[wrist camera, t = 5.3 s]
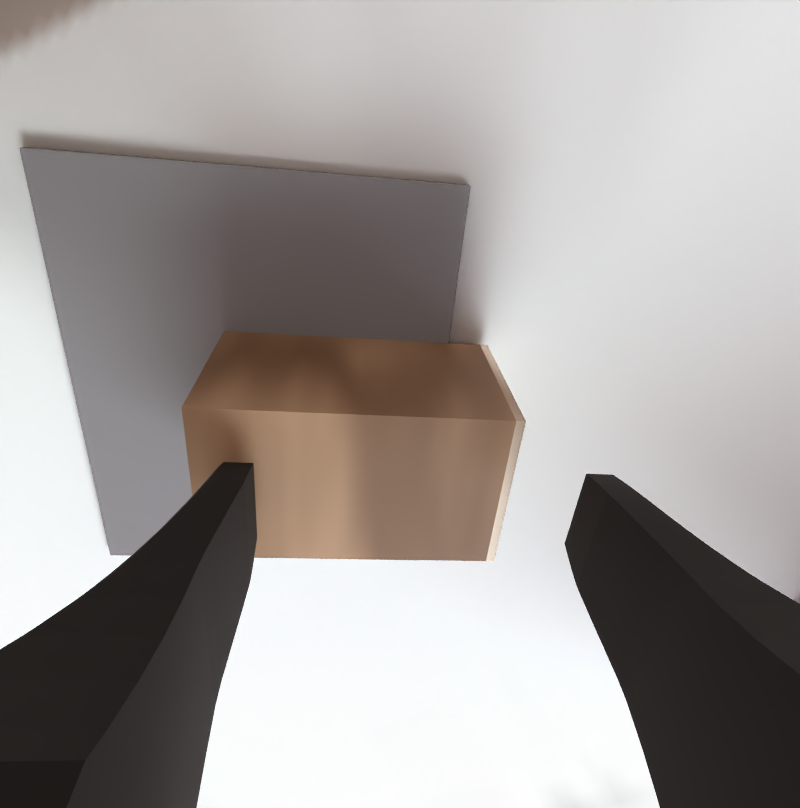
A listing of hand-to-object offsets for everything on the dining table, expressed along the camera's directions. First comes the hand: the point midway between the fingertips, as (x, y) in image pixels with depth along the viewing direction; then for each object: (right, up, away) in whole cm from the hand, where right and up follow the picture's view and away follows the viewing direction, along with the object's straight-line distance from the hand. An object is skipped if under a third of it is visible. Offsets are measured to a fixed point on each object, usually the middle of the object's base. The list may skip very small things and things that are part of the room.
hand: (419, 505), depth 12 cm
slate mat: (-4, +2, +4) cm, 6 cm away
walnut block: (+2, +1, +2) cm, 3 cm away
